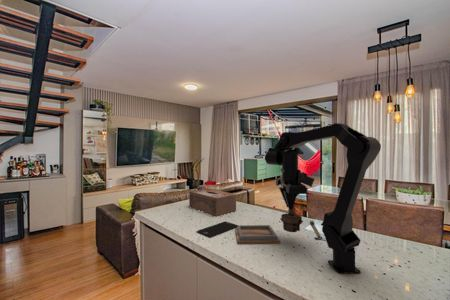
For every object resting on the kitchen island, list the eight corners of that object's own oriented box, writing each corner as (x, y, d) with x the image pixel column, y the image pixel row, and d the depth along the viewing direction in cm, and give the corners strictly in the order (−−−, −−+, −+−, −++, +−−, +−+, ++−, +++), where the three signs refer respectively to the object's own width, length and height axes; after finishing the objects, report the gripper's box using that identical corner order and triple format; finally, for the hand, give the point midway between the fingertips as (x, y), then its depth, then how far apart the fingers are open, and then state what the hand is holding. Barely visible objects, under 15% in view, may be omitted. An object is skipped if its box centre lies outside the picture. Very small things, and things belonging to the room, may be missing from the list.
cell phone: (196, 233, 93) (196, 231, 93) (225, 223, 106) (225, 221, 106) (209, 239, 87) (209, 236, 87) (239, 227, 100) (239, 225, 100)
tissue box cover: (189, 207, 134) (189, 191, 134) (208, 203, 143) (208, 188, 143) (216, 217, 115) (216, 198, 115) (236, 212, 124) (236, 194, 124)
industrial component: (305, 230, 82) (305, 198, 82) (298, 236, 76) (298, 201, 76) (281, 224, 88) (281, 194, 88) (273, 229, 82) (273, 197, 82)
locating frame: (277, 240, 83) (277, 236, 83) (240, 240, 82) (240, 236, 82) (269, 228, 95) (269, 225, 95) (237, 228, 94) (237, 225, 94)
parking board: (280, 243, 82) (280, 241, 82) (237, 244, 81) (237, 241, 81) (271, 229, 96) (271, 227, 96) (234, 230, 95) (234, 228, 95)
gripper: (323, 168, 72) (322, 216, 72) (302, 164, 91) (301, 202, 91) (289, 168, 72) (289, 216, 72) (275, 164, 91) (275, 202, 91)
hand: (289, 208), depth 82 cm, fingers closed on industrial component, 2 cm apart
